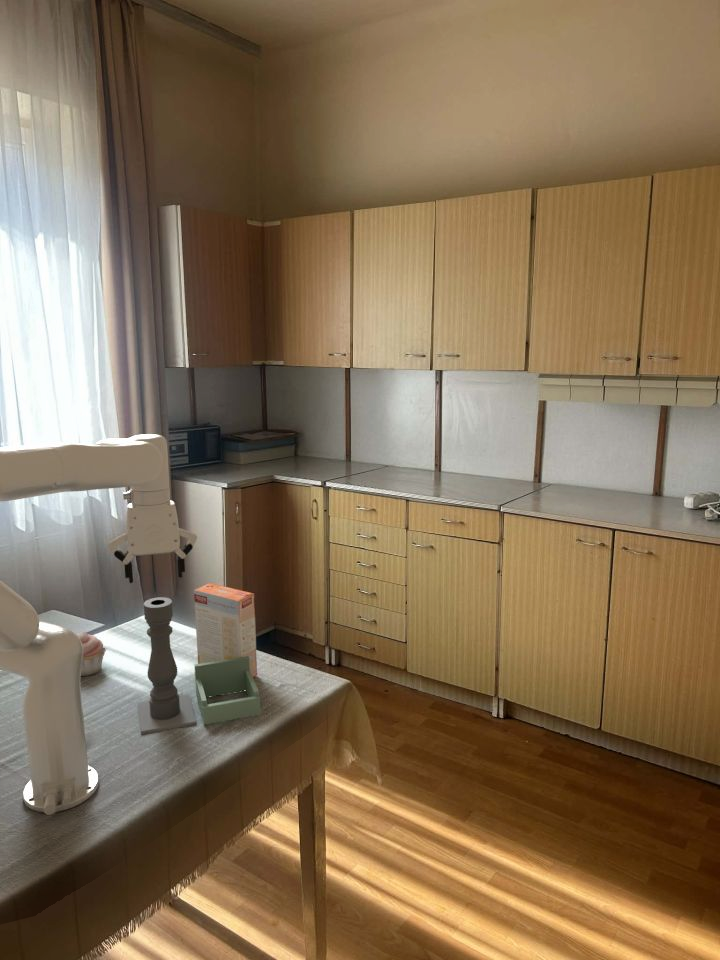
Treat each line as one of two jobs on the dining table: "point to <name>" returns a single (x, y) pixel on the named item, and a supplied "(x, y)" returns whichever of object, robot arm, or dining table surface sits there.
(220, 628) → the cracker box
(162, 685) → the candle holder
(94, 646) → the cupcake
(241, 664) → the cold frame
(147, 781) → the dining table surface
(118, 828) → the dining table surface
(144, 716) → the slate mat
